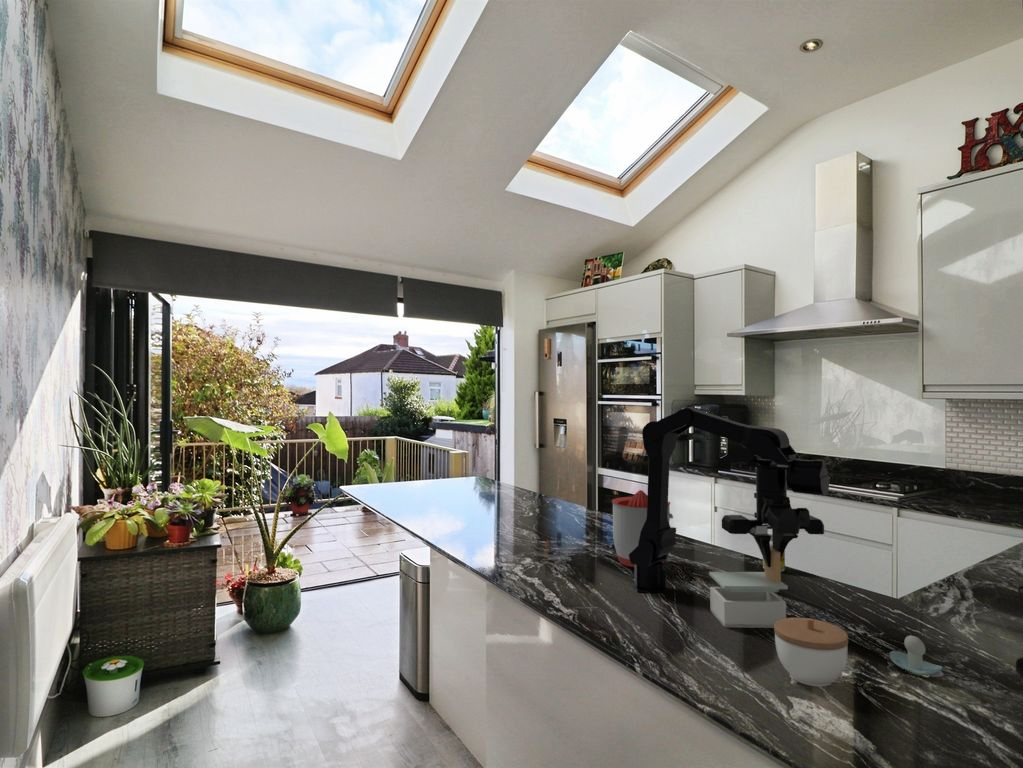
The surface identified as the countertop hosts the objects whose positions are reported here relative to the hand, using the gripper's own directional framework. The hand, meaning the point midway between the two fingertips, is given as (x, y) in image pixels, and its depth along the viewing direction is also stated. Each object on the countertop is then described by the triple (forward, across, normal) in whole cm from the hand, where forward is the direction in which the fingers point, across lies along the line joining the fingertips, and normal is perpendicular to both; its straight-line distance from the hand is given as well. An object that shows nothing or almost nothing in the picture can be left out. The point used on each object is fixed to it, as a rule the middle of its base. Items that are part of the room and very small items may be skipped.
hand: (772, 566), depth 120 cm
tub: (+11, -5, 0) cm, 12 cm away
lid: (+3, -5, 0) cm, 6 cm away
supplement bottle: (+11, +15, +35) cm, 40 cm away
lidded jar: (+11, -4, -25) cm, 28 cm away
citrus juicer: (+11, -18, +40) cm, 45 cm away
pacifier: (+11, +14, -22) cm, 29 cm away
